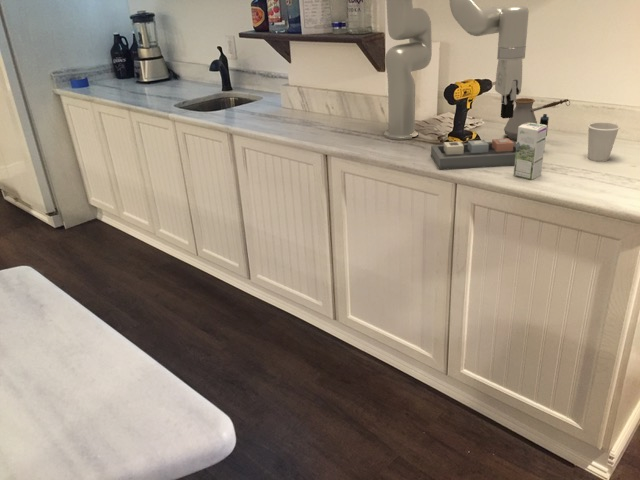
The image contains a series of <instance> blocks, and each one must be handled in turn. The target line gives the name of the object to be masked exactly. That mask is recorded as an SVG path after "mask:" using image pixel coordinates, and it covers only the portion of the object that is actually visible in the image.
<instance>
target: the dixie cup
mask: <svg viewBox="0 0 640 480" xmlns="http://www.w3.org/2000/svg"><path fill="white" fill-rule="evenodd" d="M587 127H588V137H587V138H588V139H587V159H588V160H590V161H593V162H608V161H609V160H610V156H611V154H612V150H613V147H614V144H615V141H616V138H617V135H618V131H619V130H620V128H621V126H620V125H619V124H617V123H612V122H606V121H604V122H603V121H600V122H599V121H597V122H592V123H589V124H588V125H587Z"/></svg>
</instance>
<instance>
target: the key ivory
mask: <svg viewBox="0 0 640 480" xmlns="http://www.w3.org/2000/svg"><path fill="white" fill-rule="evenodd" d="M443 145H444V151H445V153H446V154H447V155H449V154H463V152H464V146H463V143H462V142H461V141H445V142H443Z"/></svg>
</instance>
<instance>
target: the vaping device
mask: <svg viewBox="0 0 640 480" xmlns="http://www.w3.org/2000/svg"><path fill="white" fill-rule="evenodd" d="M542 114H543V113H542ZM539 121H540V122H539V124H542V125H547V129H548V127H549V126H548V125H549V116H548V114H547V113H544V114H543V115H542V116H541V117H540V120H539ZM547 136H548V130H547V131H546V137H547ZM545 147H546V145H545V146H544V148H545Z"/></svg>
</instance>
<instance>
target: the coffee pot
mask: <svg viewBox="0 0 640 480" xmlns="http://www.w3.org/2000/svg"><path fill="white" fill-rule="evenodd" d="M534 102H536V101H535V99H533V98H527V97H524V98H523V97H521V98H516V100H515V102H514V103H515V106H514V111H513V117H512V118H508V120H507V122H506V124H505V126H504V128H503V131H504V134H505V135H506V136H507V137H508V138H509V139H510V140H511V141H517V136H518V127H519V126H521V125H522V124H524V123H535V124H538V121H537V117H536V115H535V112H537V111H540V110H542V109H547V108H551V107H552V108H553V107H556V106H557V105H562V104H563V103H565V105H566V106H567V107H568V106H570V105H571V101H570V100H569V99H568V98H567V99H563V100H562V99H560V100H558V101H553V102H550V103H548V104H544V105H542V106H538V107H535V108H533V104H534ZM567 102H568V104H567Z"/></svg>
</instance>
